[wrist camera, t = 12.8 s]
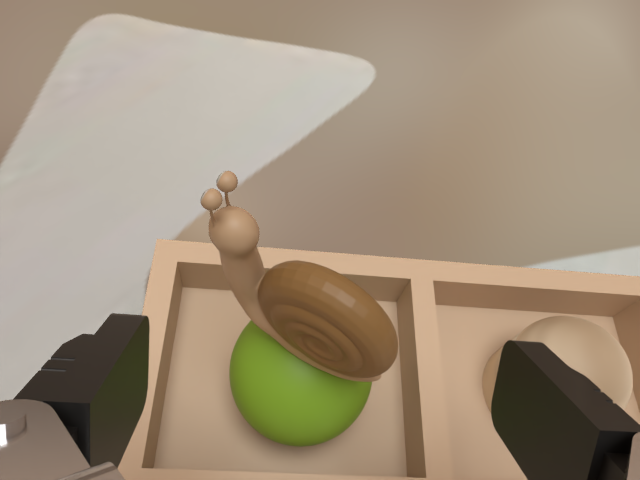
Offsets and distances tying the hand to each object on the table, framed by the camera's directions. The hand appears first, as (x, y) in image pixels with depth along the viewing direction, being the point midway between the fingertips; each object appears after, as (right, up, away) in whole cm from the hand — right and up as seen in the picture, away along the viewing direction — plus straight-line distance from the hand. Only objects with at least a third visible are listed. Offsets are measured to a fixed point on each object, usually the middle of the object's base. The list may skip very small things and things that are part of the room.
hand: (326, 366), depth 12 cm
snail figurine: (-2, -3, +11) cm, 12 cm away
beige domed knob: (+9, -4, +12) cm, 16 cm away
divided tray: (+4, -4, +12) cm, 14 cm away
